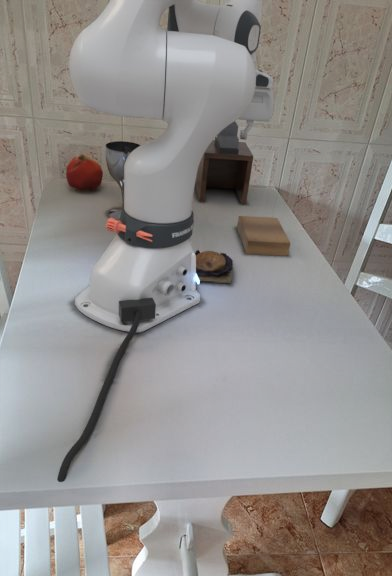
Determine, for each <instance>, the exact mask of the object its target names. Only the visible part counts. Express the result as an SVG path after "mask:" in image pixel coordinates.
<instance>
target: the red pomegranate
mask: <svg viewBox="0 0 392 576" xmlns="http://www.w3.org/2000/svg"><path fill="white" fill-rule="evenodd" d="M65 171H66V173H65V177H66V181H67V184H68V186H69V187H71V188H72V189H75V190H78V191H95V190H97V189H98V188H99V187H101V185H102V181H103V175H104V172H103V169H102V166H101V164H99V163H98V161H96V160H94V159H92V158H90V157H88V156H86V155H85V154H83V153H81V154H79V155H76V156H74V157H73V158H72V159H71V160H70V161H69V162H68V164H67V166H66V170H65Z"/></svg>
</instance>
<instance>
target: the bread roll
mask: <svg viewBox="0 0 392 576" xmlns="http://www.w3.org/2000/svg"><path fill="white" fill-rule="evenodd" d="M194 252H195V255H196V274H197V276H198V278H199V280H200V282H213V283H221V284H222V283H223V284H232V279H233V278H232V276H233V272H232V270H233V269H234V266H233V265H234V264H233V263H234V262H233V261H234V260H233V259H232V258H231V257H230V256H229V255H227V253H225V252H220V253H219V252H218V251H215V250H204V251H202V252H200V250H199V249H197V250H196V251H194Z"/></svg>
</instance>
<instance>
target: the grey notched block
mask: <svg viewBox="0 0 392 576" xmlns="http://www.w3.org/2000/svg"><path fill="white" fill-rule="evenodd" d="M238 132H239V125H238V123H237V121H234V122H232V123H231V124H229V125H228V126H227V127H226V128H224V129H223V130H222V131H221V132H220V133H219V134H218V135H217V136H216V137H215V138H214V140H215V144H216V146H217V149H218V151H219V153H220V154H234V155H238V152H239V149H238V143H239V142H240V138H239V137H238Z"/></svg>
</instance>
